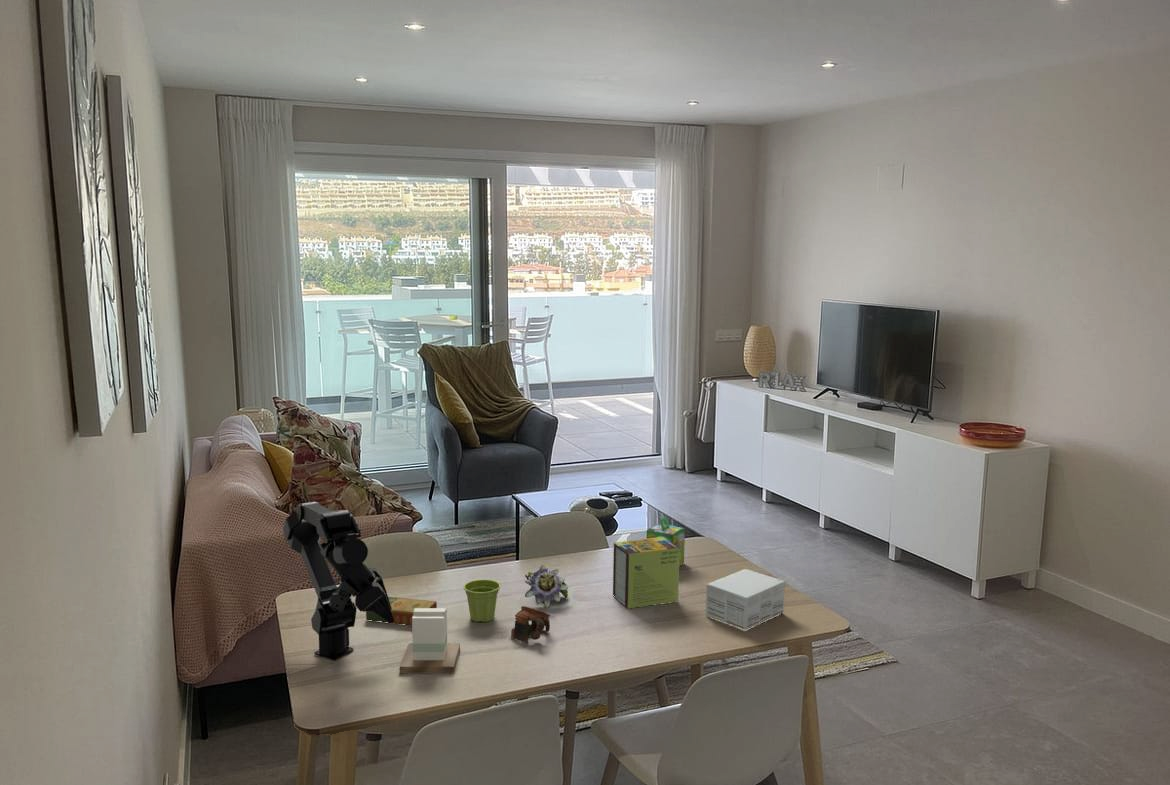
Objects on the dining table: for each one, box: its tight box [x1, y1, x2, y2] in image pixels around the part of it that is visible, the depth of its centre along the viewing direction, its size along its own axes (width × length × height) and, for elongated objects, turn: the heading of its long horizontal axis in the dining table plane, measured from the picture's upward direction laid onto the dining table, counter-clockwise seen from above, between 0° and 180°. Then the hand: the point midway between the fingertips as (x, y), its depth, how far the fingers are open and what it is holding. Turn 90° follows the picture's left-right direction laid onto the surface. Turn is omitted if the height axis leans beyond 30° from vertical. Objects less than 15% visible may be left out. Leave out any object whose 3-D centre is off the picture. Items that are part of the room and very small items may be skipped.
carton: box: [365, 596, 438, 626], centre depth 222 cm, size 8×16×4 cm, turn 77°
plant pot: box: [463, 579, 501, 623], centre depth 222 cm, size 9×9×9 cm
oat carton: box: [411, 607, 448, 660], centre depth 197 cm, size 7×6×11 cm
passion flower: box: [524, 563, 569, 608], centre depth 234 cm, size 11×11×12 cm
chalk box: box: [646, 515, 686, 567], centre depth 263 cm, size 9×9×15 cm
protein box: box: [612, 537, 680, 610], centre depth 236 cm, size 10×15×16 cm
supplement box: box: [705, 568, 785, 630], centre depth 226 cm, size 17×13×9 cm
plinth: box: [399, 642, 461, 674], centre depth 198 cm, size 12×12×2 cm
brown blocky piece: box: [510, 605, 551, 644], centre depth 211 cm, size 12×10×8 cm
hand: (391, 615), depth 197 cm, fingers open, 9 cm apart
